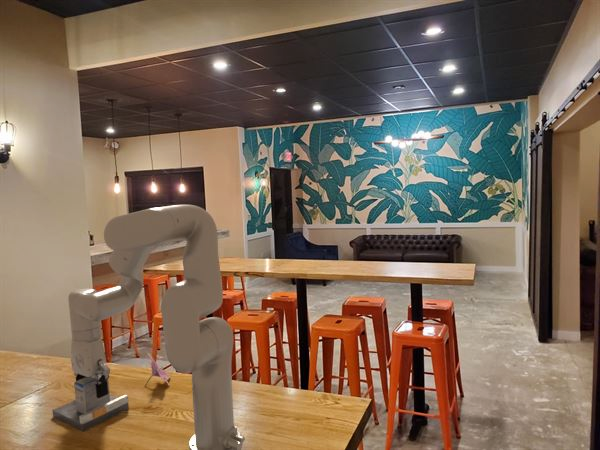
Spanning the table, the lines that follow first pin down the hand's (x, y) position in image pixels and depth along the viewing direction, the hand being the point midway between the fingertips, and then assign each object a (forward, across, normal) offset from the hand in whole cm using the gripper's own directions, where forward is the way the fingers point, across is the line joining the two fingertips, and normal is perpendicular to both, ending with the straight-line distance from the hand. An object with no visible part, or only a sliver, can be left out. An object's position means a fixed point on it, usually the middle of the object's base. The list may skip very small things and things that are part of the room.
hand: (92, 392), depth 131 cm
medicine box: (+5, 0, 0) cm, 5 cm away
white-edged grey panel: (+6, -1, 0) cm, 7 cm away
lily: (+7, +1, +22) cm, 23 cm away
